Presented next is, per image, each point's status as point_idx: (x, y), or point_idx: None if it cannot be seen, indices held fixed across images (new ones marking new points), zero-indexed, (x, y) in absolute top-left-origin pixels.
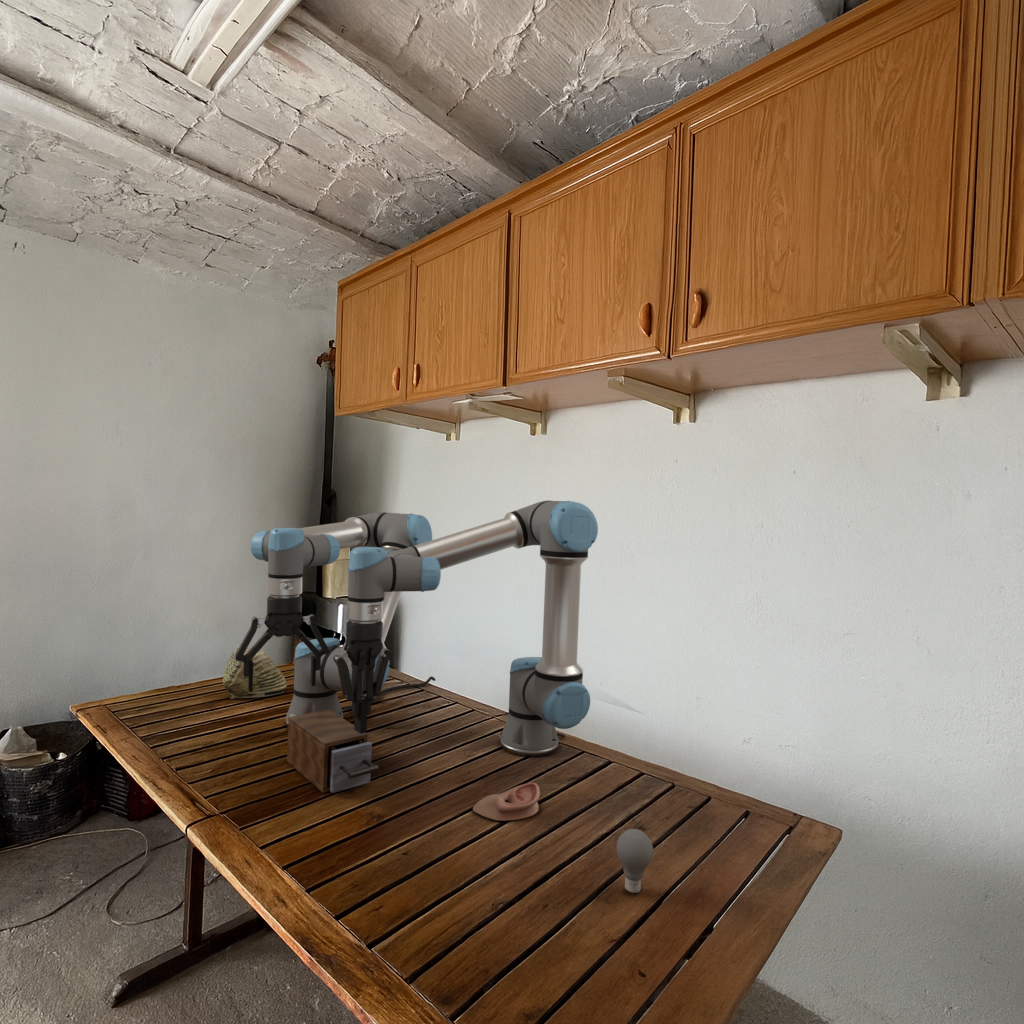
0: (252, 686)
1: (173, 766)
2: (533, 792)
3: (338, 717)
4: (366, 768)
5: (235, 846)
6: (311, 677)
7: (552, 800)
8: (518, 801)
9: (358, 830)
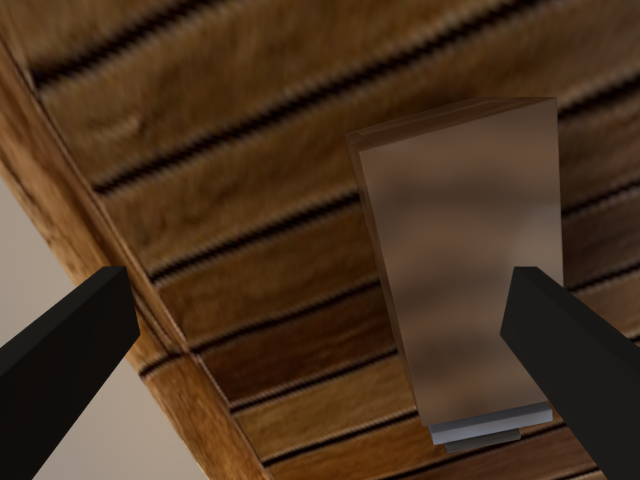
0: (123, 355)
1: (17, 51)
2: None
3: (550, 224)
4: (490, 444)
5: (225, 451)
6: (531, 337)
7: None
8: None
9: (414, 465)
